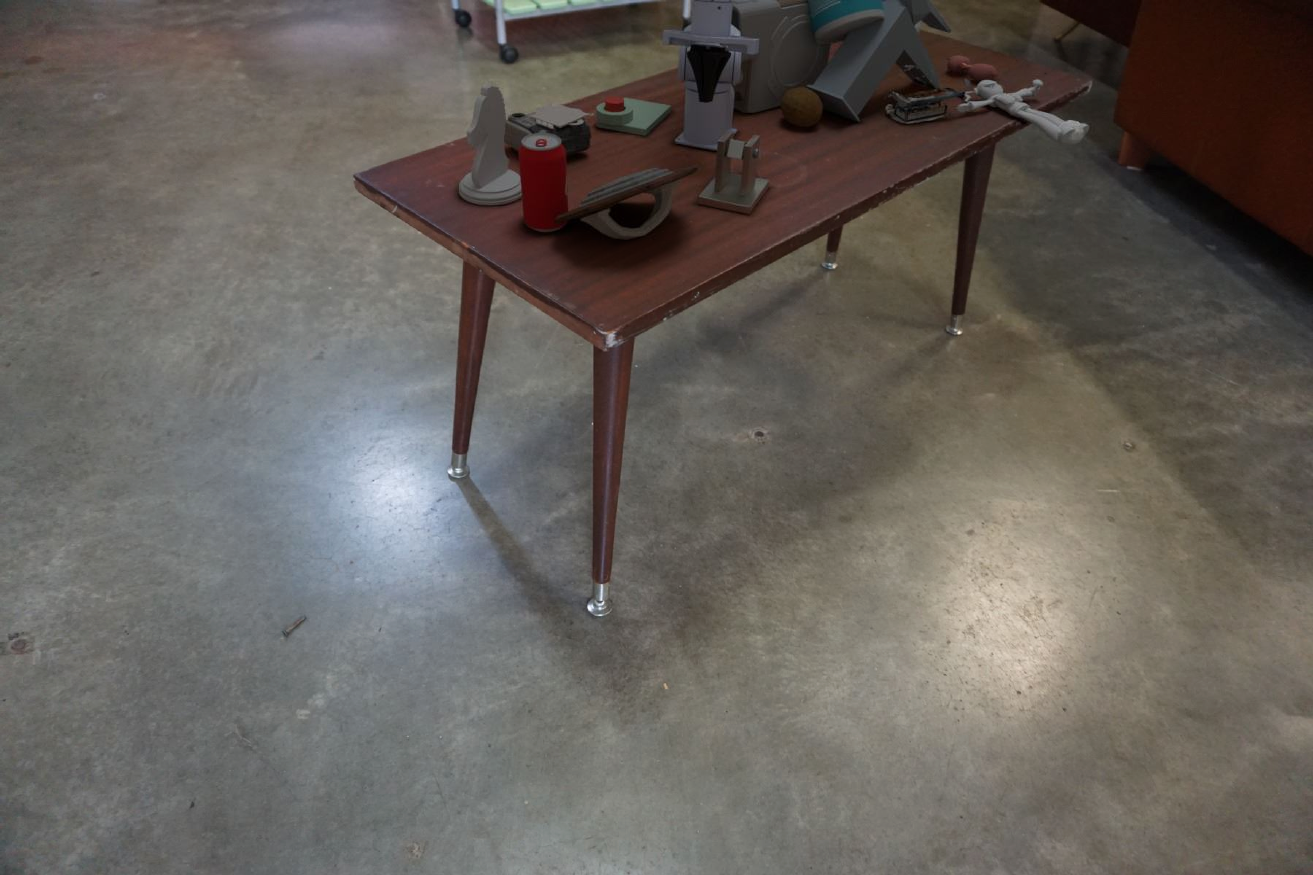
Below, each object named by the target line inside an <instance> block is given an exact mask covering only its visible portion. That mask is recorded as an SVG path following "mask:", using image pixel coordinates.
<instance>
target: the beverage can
mask: <svg viewBox="0 0 1313 875" xmlns="http://www.w3.org/2000/svg"><path fill="white" fill-rule="evenodd" d="M518 165H519V176H520V179H521V191H522V197H521V201H522V214H523V222H524V224H525V225H526V226H527V227H528V228H530V229H532V230H533V231H536V232H540V233H551V232H555V231H558V230H560V229H562V228H563V227H564V226H566V225H567V224H568V223H569V220H567V221H564V222H562V223H555V221H554V220H555V218H556V217H557V216H558V215H561V214H563V213H566V212H568V211H569V194H568V192H569V191H568V172H567V156H566V151H565V148H564V146H563V145H562V143H561V139H560V137H558V136H556V135H554V134H549V133H535V134H530V135H527V136H525V137H524V138H523V139H522V144H521V146H520V149H519V153H518Z"/></svg>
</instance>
